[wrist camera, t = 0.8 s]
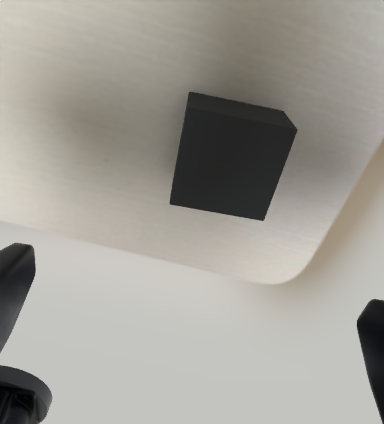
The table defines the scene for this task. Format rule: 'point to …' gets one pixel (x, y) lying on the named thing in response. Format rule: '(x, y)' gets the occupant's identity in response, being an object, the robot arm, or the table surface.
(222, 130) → the black block
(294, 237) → the table surface
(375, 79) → the table surface
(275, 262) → the table surface
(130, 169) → the table surface
